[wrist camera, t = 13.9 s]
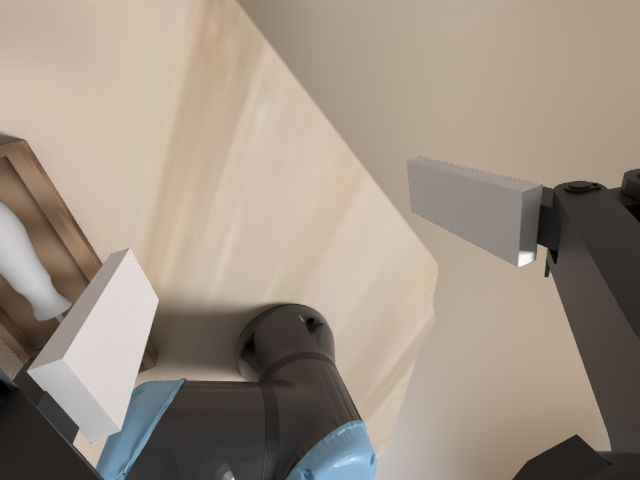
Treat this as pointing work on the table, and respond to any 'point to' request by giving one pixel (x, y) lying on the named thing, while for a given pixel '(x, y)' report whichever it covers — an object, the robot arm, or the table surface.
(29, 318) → the tool tray
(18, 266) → the screwdriver
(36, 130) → the table surface
